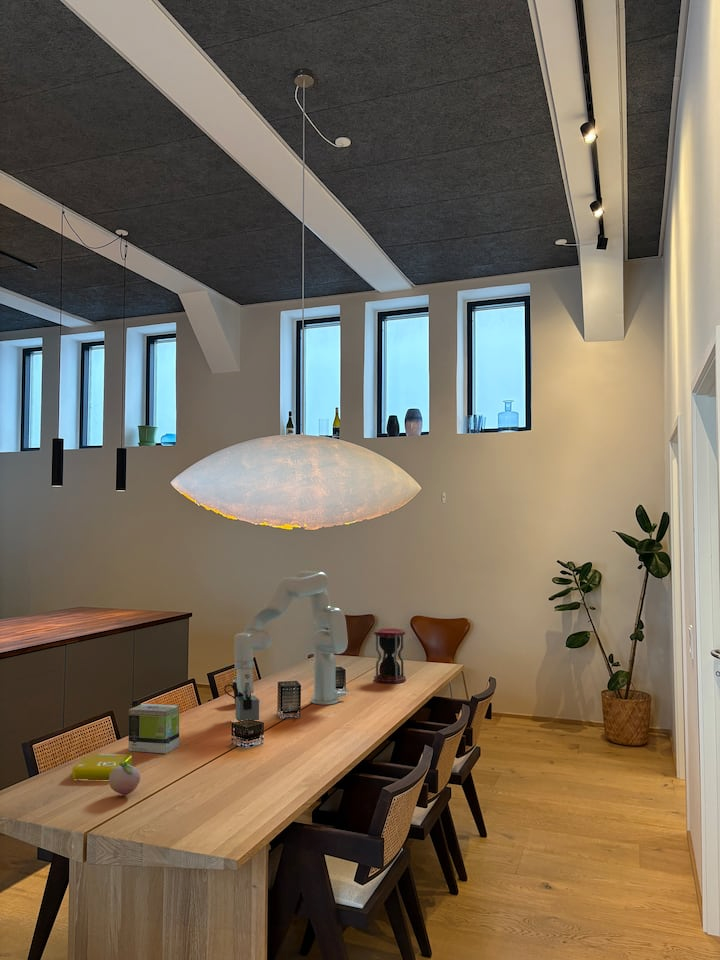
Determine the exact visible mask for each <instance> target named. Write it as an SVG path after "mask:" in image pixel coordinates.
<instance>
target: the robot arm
mask: <svg viewBox="0 0 720 960" xmlns="http://www.w3.org/2000/svg"><path fill="white" fill-rule="evenodd" d="M329 583H330V580H329V576H328V575H327V574H326V573H325V572H322V571H310V570H300V571H298V572H297V573H296V574H295V576H294V577H293V576H290V577H289V576H285V577H283V578H282V579H281V580H280V581H279V583H278V584H277V586H276V588H275V590H274V592H273V593H272V595H271V597H270V598H269V600H268V602H267V603H266V605H265V606H263V607H262V608H261V609H260V610H259V611H257V613H255V614H254V615H253V616H252V617H251V618H250V620H249V621H248V622H247V624H246V626H245V628H244V629H243V632H240V633H236V634H235V635H234V639H233V643H234V647H233V648H234V650H233V651H234V669H236V679H237V689H238V697H243V696H244V700H243V704H244V710H249V709H252V697H251V696H252V694H253V693H254V691H255V689H254V675H253V668H254V651H256V650H257V651H258V650H259V651H260V650H266V649H269V648H270V647H271V645H272V644H273V636H272V634H271V633H270V632H267V631H265V630H263V628H264V627H266V625H268V624H269V623H272V622H273V621H275V620H278V619H279V618H282V617H283V616H284V615H285V614H286V612H287V610H288V609H289V606H290V604H291V603H292V601H293V600H294V598H298V599H302V598H309V601H310V608H311V609H310V610H311V617H312V622H313V624H314V626H316V627H317V628H321V629H319V630H316V631H315V632H314V634H313V636H312V638H311V646H312V649H313V651H312V652H313V658H314V660H313V661H314V662H313V663H314V665H313V666H314V667H313V672H314V676H313V677H314V680H313V682H314V683H313V684H314V685H313V687H314V688H313V690H314V691H313V692H314V693H313V697H311V698H310V703H312V704H315V705H322V706H323V705H325V706H326V705H334V704H338V703H339V702H340V697H346V696H347V691H341V690H339V691H338V690H336V687H337V685H336V684H337V682H336V669H337V668H336V664H337V663H336V657H335V655H340V654H343V653H345V652H346V650H347V649H348V645H349V638H348V637H349V636H348V628H347V620H346V615H345V613H344V612H343V610H341V609H340V608H338V607H334V606H331V603H330V597H329V592H328V589H327V588H328V587H329Z"/></svg>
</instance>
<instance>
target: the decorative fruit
mask: <svg viewBox="0 0 720 960" xmlns="http://www.w3.org/2000/svg"><path fill="white" fill-rule="evenodd" d="M140 781H141V773H140V772H139V770H138V768H136V767H135V766H133V765H132V766H131V765H128V764H127V763H126V761H125V762H123V763H119V766H117V767H116V768H114V769H113V770H112V771H111V773H110V775H109V781H108V783H109V784H108V785H109V787H110V788H111V790H113V792H116V793H118V794H119V795H122V796H124V795H126V796H128V795H130V794H131V793H133V792H134V791H135V790H136V789H137V787H138V785H139V783H140Z"/></svg>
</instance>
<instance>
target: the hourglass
mask: <svg viewBox="0 0 720 960" xmlns="http://www.w3.org/2000/svg"><path fill="white" fill-rule="evenodd" d="M373 635H375V651H376V653H377V655H378V658H377V660H376V662H375V676H373V681H374V682H376V683H378V684H388V685H389V684H390V685H391V684H401V682H402V683H404V681H405V682H406V681H407V679H406V678H407V677H406V676H405V674H404V660H403V658H402V656H401V654H402V650H403V649H404V636H405V635H406V630H405V629H403V628H377V629H374V630H373ZM379 647H380V649H381V650H382V652H383V655H382V653H381V651H380V650H379ZM399 647H400V649H399ZM398 649H399V650H398ZM397 656H398V659H399V660H400V663H399V662H398V661H397ZM381 659H382V661H381ZM380 661H381V662H380ZM379 663H380V664H379Z"/></svg>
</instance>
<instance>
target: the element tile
mask: <svg viewBox="0 0 720 960" xmlns="http://www.w3.org/2000/svg"><path fill="white" fill-rule="evenodd" d="M125 761H126V763H127V764H128V765H131V766H133V755H132V754H131V753H126V754H125V753H90V754H88V755H86V756H85V757H84V758H82V759H81V760H80V761H79V762H77V763H76V764H74V766H72V776H71V777H72V779H77V780H78V779H88V780H109V775H110V773H111V771H112V770H113V769H114V768H116V767H117V766H119V763H123V762H125Z"/></svg>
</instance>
